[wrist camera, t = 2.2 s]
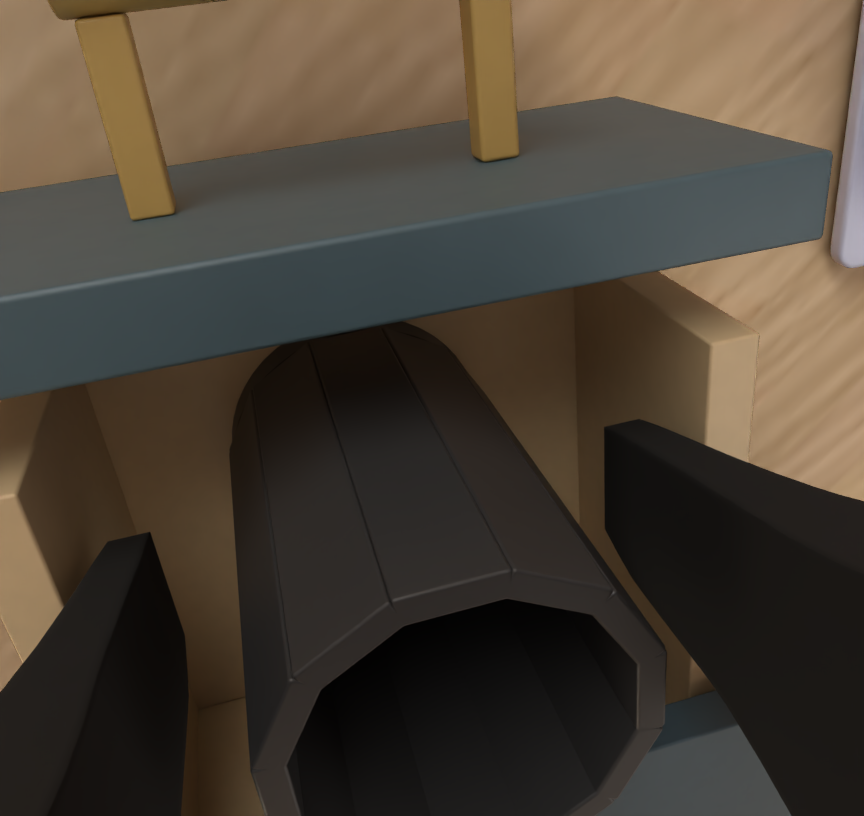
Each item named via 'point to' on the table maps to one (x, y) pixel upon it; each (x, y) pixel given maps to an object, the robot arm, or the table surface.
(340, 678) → the black cup
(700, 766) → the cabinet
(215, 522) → the drawer
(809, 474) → the table surface
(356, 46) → the table surface
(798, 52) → the table surface
